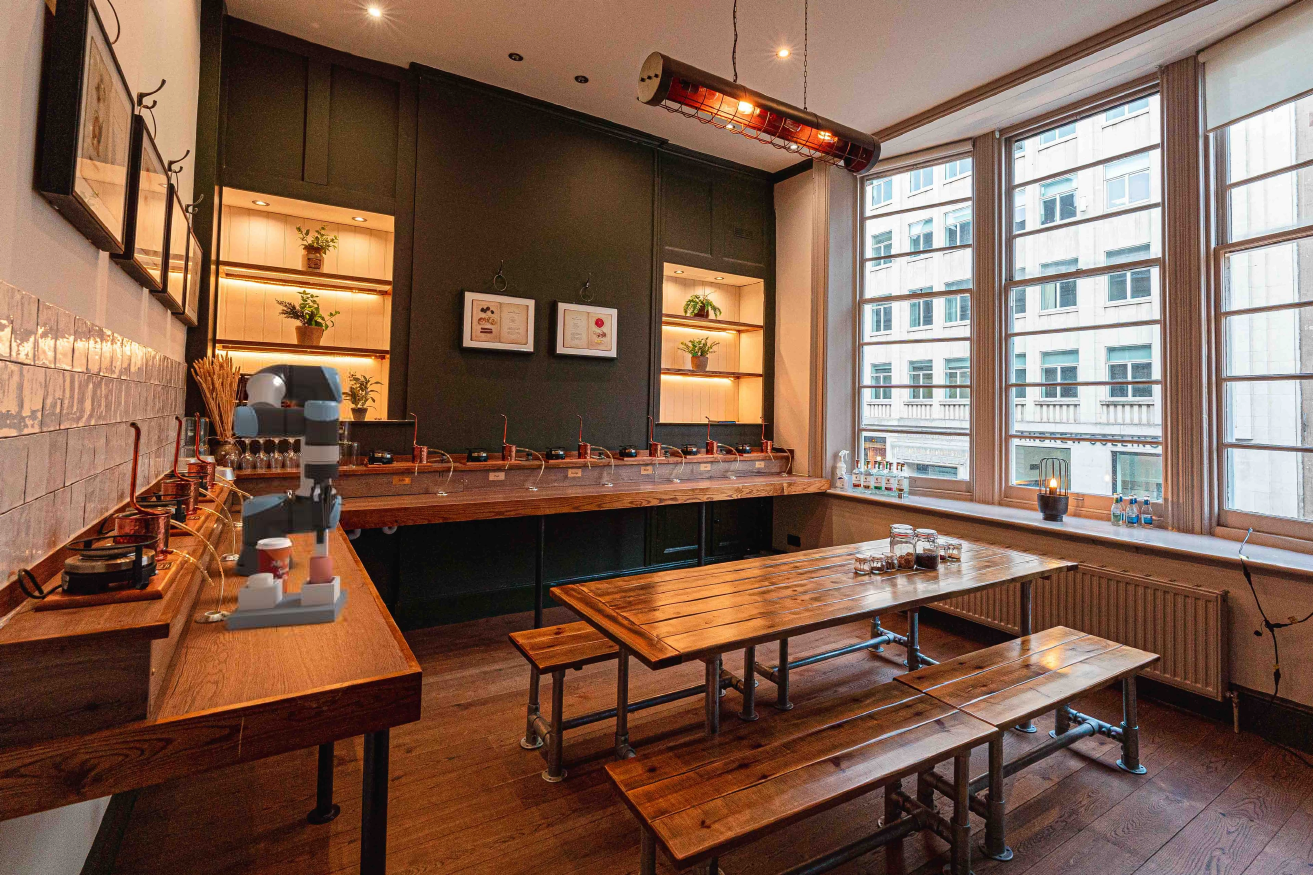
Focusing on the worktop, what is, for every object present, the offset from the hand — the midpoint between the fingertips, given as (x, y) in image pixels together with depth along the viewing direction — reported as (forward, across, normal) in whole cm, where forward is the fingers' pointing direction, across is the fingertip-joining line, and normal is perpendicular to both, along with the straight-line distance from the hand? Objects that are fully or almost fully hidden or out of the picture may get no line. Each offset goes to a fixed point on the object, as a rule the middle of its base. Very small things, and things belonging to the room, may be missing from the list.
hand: (321, 555), depth 144 cm
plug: (+11, 0, -13) cm, 17 cm away
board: (+14, 0, -6) cm, 16 cm away
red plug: (+7, 0, 0) cm, 7 cm away
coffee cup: (+15, -18, -15) cm, 28 cm away
